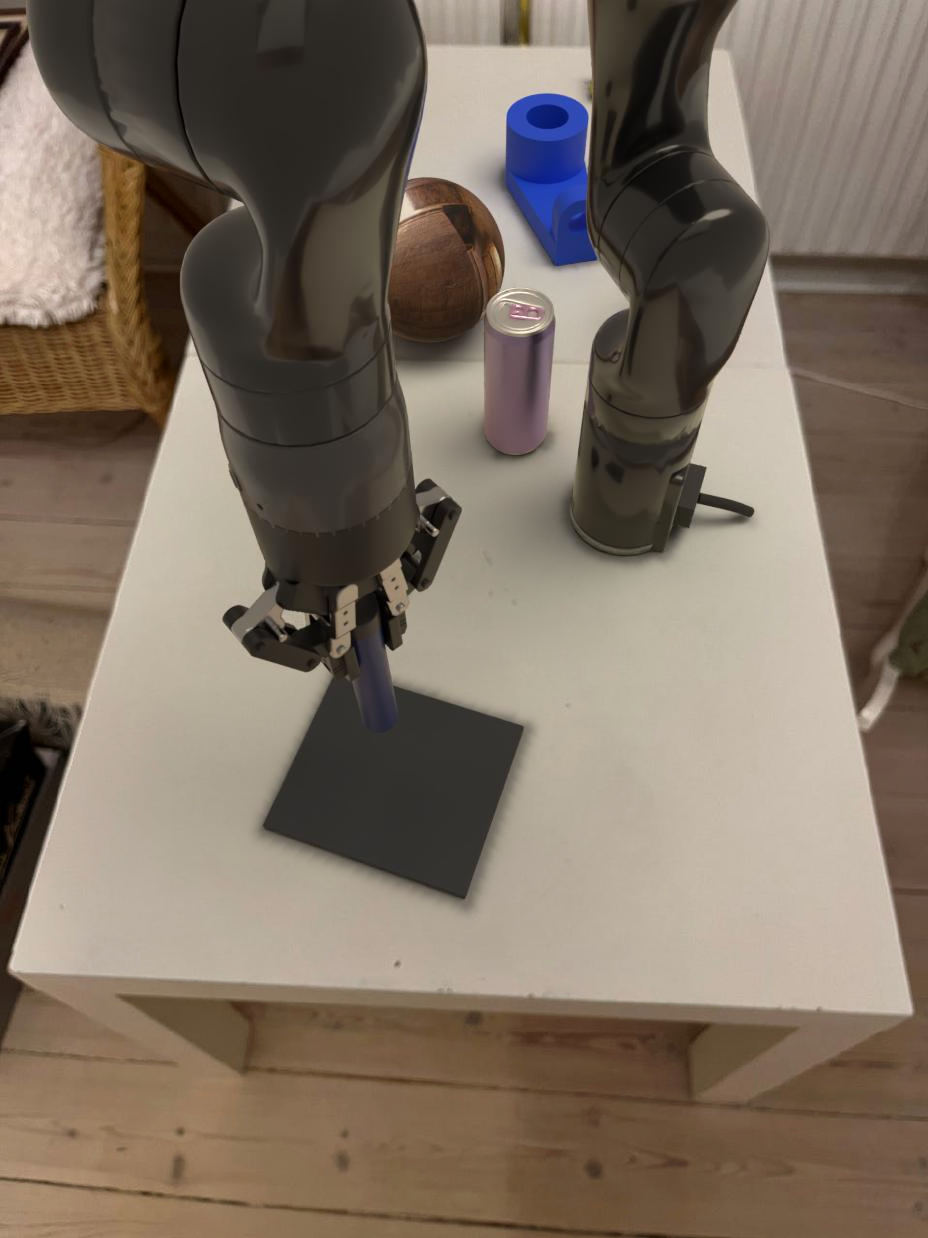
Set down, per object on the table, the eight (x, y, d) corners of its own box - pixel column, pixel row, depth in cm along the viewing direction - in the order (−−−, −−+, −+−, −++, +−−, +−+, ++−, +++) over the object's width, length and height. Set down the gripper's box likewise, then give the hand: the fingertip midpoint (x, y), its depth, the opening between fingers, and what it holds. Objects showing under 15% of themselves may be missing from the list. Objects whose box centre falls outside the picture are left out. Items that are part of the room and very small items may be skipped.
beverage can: (541, 462, 86) (550, 339, 73) (478, 453, 87) (477, 330, 74) (550, 415, 89) (561, 289, 76) (490, 407, 90) (491, 281, 77)
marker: (404, 706, 62) (385, 595, 50) (390, 738, 60) (367, 633, 48) (370, 695, 62) (343, 582, 50) (355, 727, 61) (324, 619, 49)
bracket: (498, 162, 110) (498, 98, 103) (571, 152, 111) (577, 88, 104) (535, 268, 100) (538, 206, 94) (615, 256, 101) (624, 193, 94)
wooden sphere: (332, 316, 97) (309, 186, 84) (444, 255, 102) (438, 124, 89) (418, 396, 91) (407, 270, 78) (533, 328, 95) (540, 198, 82)
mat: (523, 729, 72) (524, 725, 72) (465, 899, 66) (464, 897, 65) (338, 671, 75) (337, 667, 75) (264, 828, 69) (262, 825, 68)
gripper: (231, 606, 35) (306, 772, 50) (505, 424, 39) (498, 627, 54) (132, 489, 38) (231, 679, 53) (397, 333, 42) (419, 548, 57)
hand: (366, 652), depth 53 cm, fingers closed on marker, 2 cm apart
